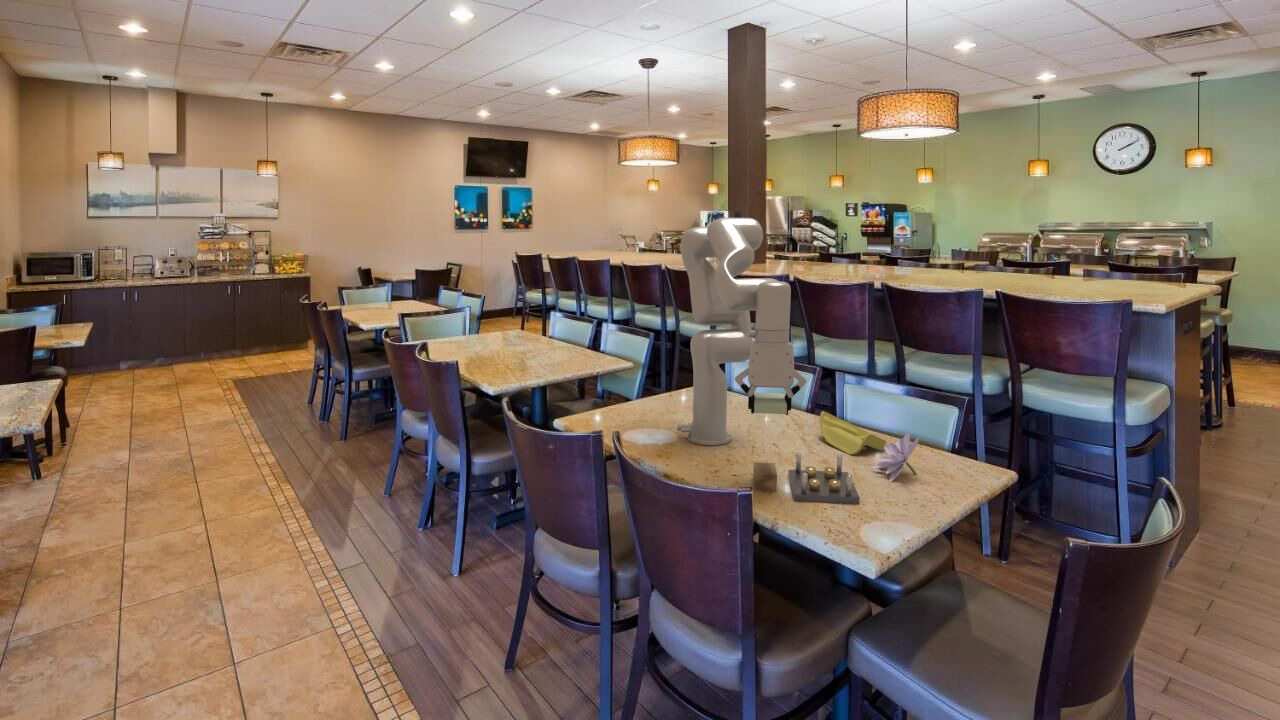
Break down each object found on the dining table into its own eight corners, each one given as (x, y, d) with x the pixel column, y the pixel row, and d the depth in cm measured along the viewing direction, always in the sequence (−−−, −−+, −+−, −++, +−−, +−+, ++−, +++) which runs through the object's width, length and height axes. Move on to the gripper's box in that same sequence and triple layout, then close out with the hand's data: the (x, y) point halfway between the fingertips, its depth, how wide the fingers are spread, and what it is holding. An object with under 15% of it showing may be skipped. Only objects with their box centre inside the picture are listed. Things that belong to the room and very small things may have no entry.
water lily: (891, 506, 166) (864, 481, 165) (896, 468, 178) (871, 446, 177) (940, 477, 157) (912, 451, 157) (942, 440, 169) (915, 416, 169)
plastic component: (890, 443, 185) (866, 431, 180) (878, 467, 185) (853, 457, 181) (841, 419, 202) (818, 408, 198) (830, 441, 203) (807, 431, 198)
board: (754, 413, 152) (754, 404, 152) (753, 400, 163) (753, 392, 163) (786, 414, 151) (786, 405, 151) (783, 401, 162) (783, 393, 162)
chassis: (794, 500, 151) (795, 475, 150) (788, 475, 167) (789, 451, 166) (859, 503, 150) (860, 477, 148) (847, 478, 165) (848, 454, 164)
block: (754, 490, 157) (755, 474, 157) (753, 478, 165) (753, 462, 164) (776, 491, 157) (777, 475, 156) (774, 479, 164) (774, 463, 164)
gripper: (733, 338, 152) (731, 415, 155) (813, 339, 149) (809, 418, 153) (733, 333, 159) (731, 407, 162) (809, 334, 157) (806, 409, 160)
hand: (769, 412), depth 158 cm, fingers closed on board, 7 cm apart
